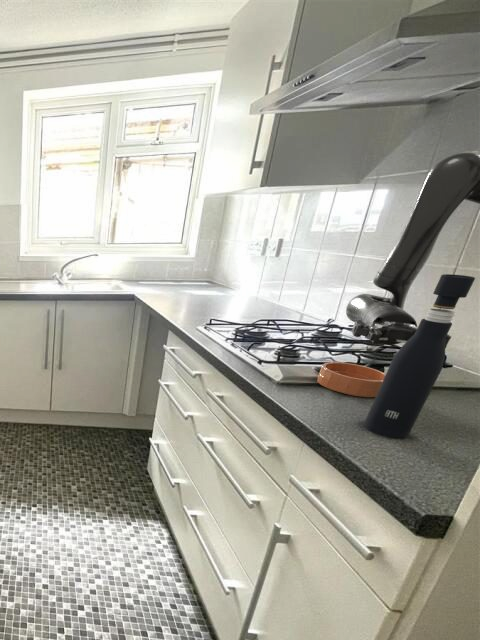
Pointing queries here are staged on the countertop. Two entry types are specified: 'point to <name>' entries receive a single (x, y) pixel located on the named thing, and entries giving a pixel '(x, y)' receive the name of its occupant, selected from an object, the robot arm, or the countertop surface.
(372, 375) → the bowl
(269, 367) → the countertop surface
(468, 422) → the countertop surface
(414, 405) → the dark water bottle
